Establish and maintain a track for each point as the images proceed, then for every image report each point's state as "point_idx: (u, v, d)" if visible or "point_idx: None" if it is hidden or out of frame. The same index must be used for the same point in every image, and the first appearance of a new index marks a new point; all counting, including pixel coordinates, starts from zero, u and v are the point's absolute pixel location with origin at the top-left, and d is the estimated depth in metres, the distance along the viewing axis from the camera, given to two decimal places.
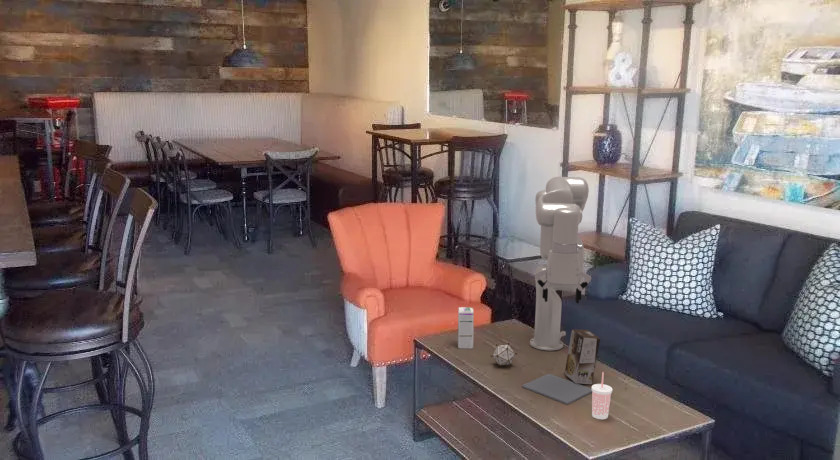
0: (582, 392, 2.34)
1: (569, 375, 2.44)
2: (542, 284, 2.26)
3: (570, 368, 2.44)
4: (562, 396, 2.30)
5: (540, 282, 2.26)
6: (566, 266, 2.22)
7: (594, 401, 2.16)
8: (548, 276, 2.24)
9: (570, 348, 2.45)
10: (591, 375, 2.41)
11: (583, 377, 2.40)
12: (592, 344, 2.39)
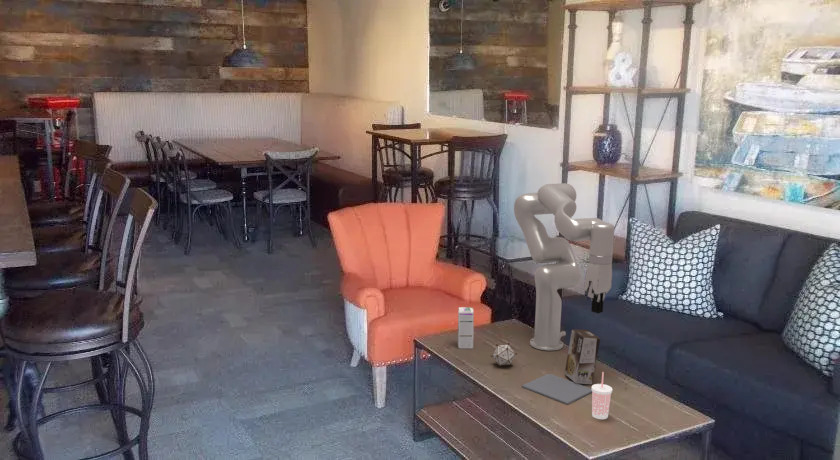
0: (582, 392, 2.34)
1: (569, 375, 2.44)
2: (596, 298, 2.44)
3: (570, 368, 2.44)
4: (562, 396, 2.30)
5: (596, 296, 2.43)
6: (607, 275, 2.43)
7: (594, 401, 2.16)
8: (596, 288, 2.40)
9: (570, 348, 2.45)
10: (591, 375, 2.41)
11: (583, 377, 2.40)
12: (592, 344, 2.39)
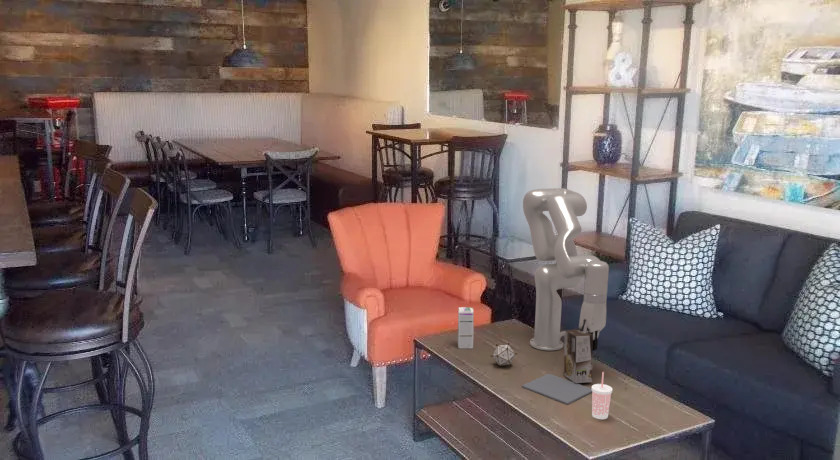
0: (582, 392, 2.34)
1: (568, 376, 2.45)
2: None
3: (569, 369, 2.44)
4: (562, 396, 2.30)
5: None
6: (601, 313, 2.44)
7: (594, 401, 2.16)
8: (591, 326, 2.42)
9: (565, 349, 2.46)
10: (590, 373, 2.41)
11: (582, 376, 2.40)
12: (586, 342, 2.39)
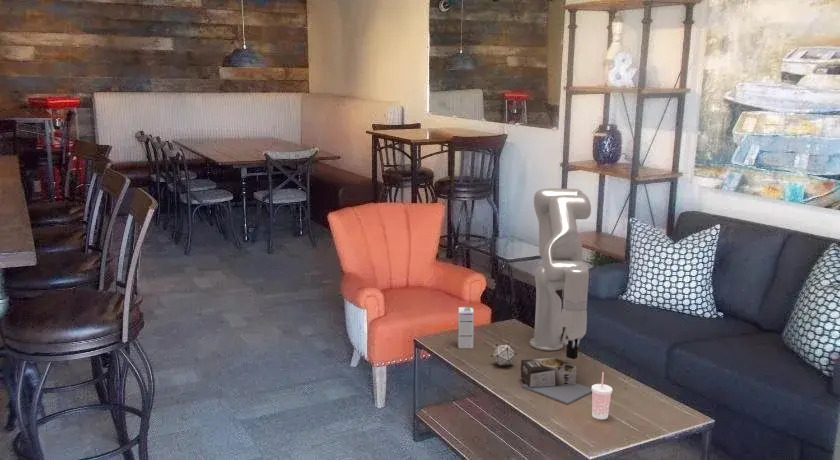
0: (582, 392, 2.34)
1: None
2: (571, 344, 2.37)
3: None
4: (562, 396, 2.30)
5: (570, 342, 2.37)
6: (581, 321, 2.36)
7: (594, 401, 2.16)
8: (570, 334, 2.34)
9: None
10: (567, 370, 2.38)
11: (569, 378, 2.39)
12: (536, 376, 2.36)
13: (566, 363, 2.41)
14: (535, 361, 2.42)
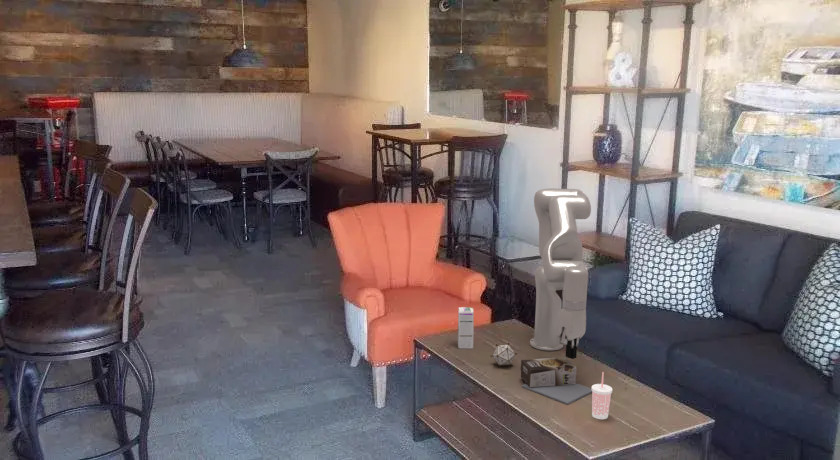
0: (582, 392, 2.34)
1: None
2: (570, 343, 2.37)
3: None
4: (562, 396, 2.30)
5: (569, 342, 2.37)
6: (580, 321, 2.36)
7: (594, 401, 2.16)
8: (569, 334, 2.34)
9: None
10: (567, 370, 2.38)
11: (569, 378, 2.39)
12: (536, 376, 2.36)
13: (566, 363, 2.41)
14: (535, 361, 2.42)
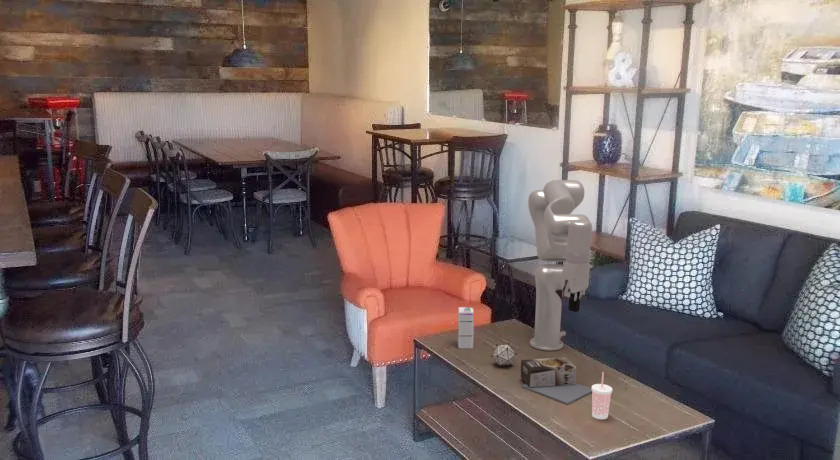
0: (582, 392, 2.34)
1: None
2: (573, 296, 2.38)
3: None
4: (562, 396, 2.30)
5: (572, 295, 2.37)
6: (584, 274, 2.37)
7: (594, 401, 2.16)
8: (572, 287, 2.34)
9: None
10: (567, 370, 2.38)
11: (569, 378, 2.39)
12: (536, 376, 2.36)
13: (566, 363, 2.41)
14: (535, 361, 2.42)
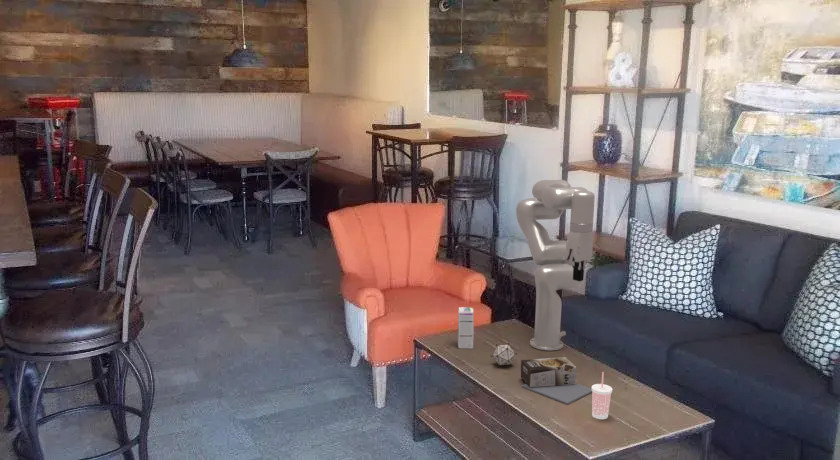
0: (582, 392, 2.34)
1: None
2: (577, 266, 2.46)
3: None
4: (562, 396, 2.30)
5: (577, 264, 2.45)
6: (587, 243, 2.44)
7: (594, 401, 2.16)
8: (576, 256, 2.42)
9: None
10: (567, 370, 2.38)
11: (569, 378, 2.39)
12: (536, 376, 2.36)
13: (566, 363, 2.41)
14: (535, 361, 2.42)
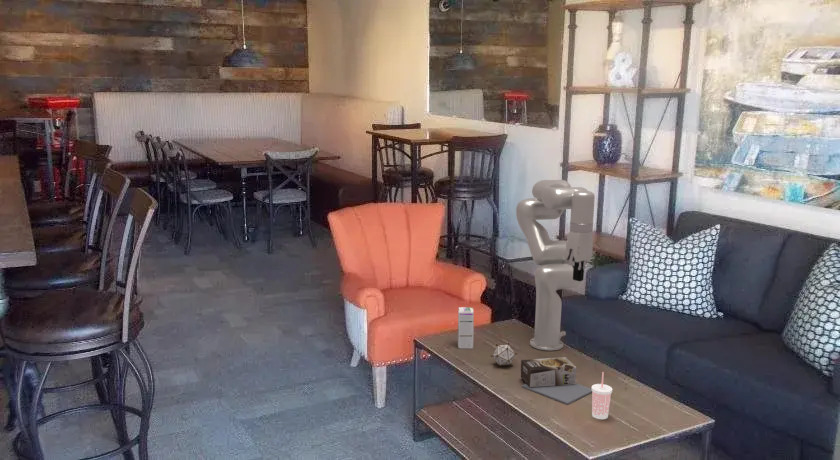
0: (582, 392, 2.34)
1: None
2: (577, 266, 2.46)
3: None
4: (562, 396, 2.30)
5: (577, 264, 2.45)
6: (587, 243, 2.44)
7: (594, 401, 2.16)
8: (576, 255, 2.42)
9: None
10: (567, 370, 2.38)
11: (569, 378, 2.39)
12: (536, 376, 2.36)
13: (566, 363, 2.41)
14: (535, 361, 2.42)
